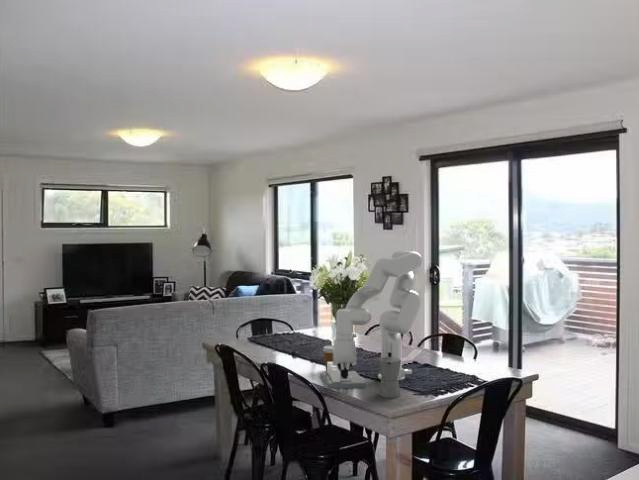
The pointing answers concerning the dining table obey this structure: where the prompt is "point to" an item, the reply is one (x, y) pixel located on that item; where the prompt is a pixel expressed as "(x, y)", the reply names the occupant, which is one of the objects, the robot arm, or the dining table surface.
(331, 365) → the breaker
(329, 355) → the disposable coffee cup
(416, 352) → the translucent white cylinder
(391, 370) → the coffeepot
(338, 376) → the breaker
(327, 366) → the breaker
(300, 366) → the dining table surface
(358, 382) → the grey flat slab
